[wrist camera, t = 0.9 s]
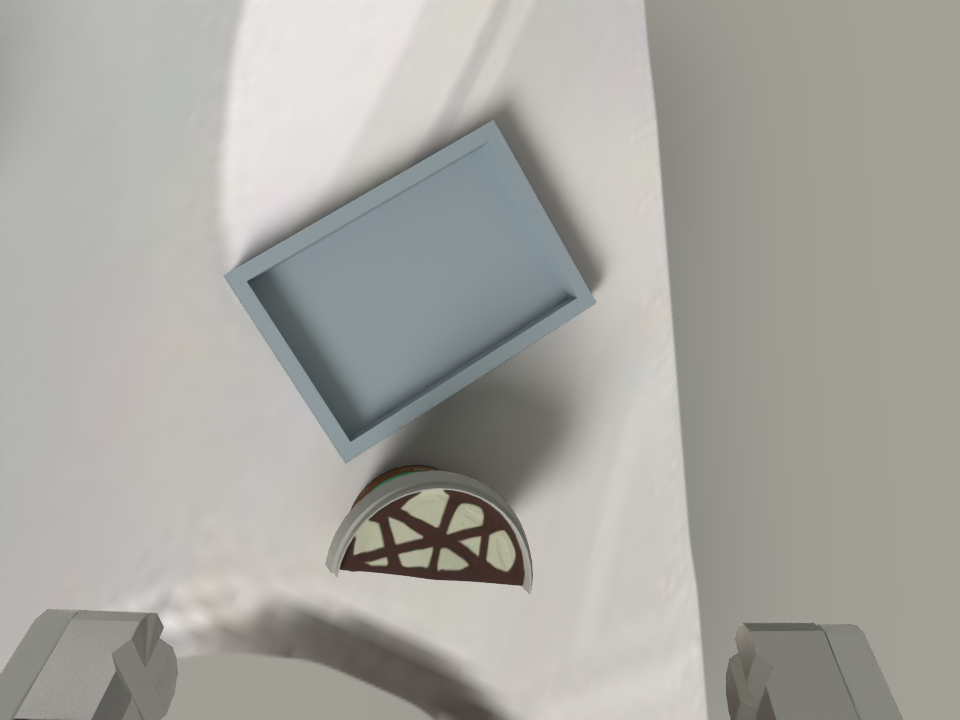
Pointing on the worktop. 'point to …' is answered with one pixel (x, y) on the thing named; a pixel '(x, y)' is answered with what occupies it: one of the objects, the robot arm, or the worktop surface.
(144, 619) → the robot arm
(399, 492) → the food container
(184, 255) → the worktop surface
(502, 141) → the tray
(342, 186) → the worktop surface
